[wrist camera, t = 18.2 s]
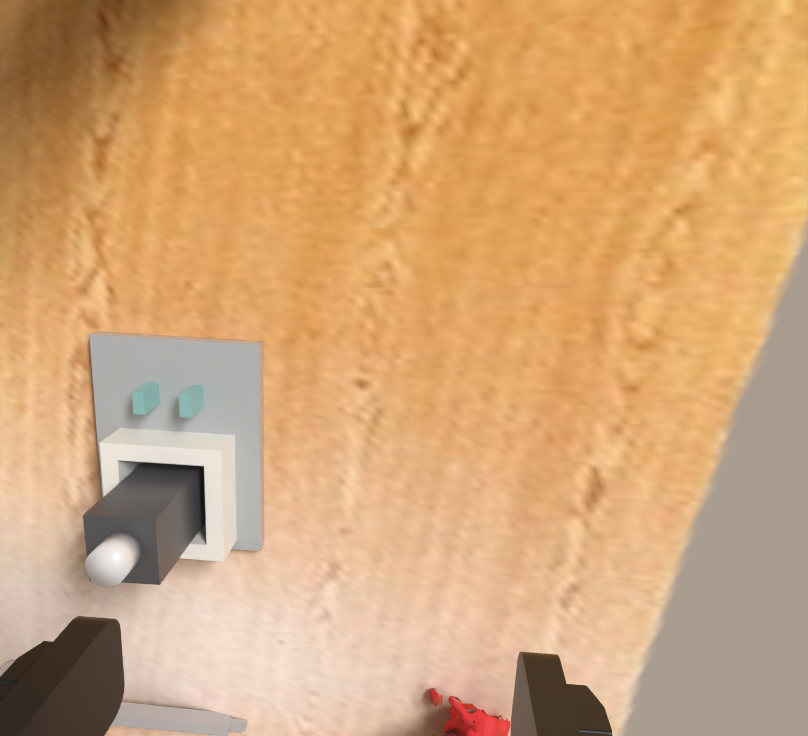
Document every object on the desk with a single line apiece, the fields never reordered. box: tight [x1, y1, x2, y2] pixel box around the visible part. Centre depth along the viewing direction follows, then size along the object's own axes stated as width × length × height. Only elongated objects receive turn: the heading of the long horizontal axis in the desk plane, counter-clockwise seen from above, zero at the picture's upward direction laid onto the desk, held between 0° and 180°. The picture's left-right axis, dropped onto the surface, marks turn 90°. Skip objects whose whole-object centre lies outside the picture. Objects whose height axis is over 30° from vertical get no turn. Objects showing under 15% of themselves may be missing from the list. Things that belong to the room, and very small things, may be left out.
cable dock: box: [89, 332, 264, 562], centre depth 46 cm, size 16×12×4 cm
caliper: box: [0, 660, 247, 736], centre depth 51 cm, size 20×1×6 cm, turn 75°
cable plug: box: [83, 462, 206, 587], centre depth 42 cm, size 4×4×11 cm
